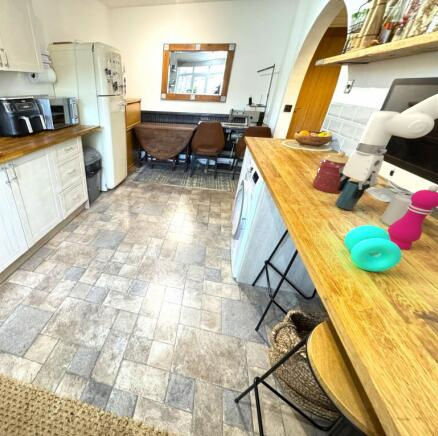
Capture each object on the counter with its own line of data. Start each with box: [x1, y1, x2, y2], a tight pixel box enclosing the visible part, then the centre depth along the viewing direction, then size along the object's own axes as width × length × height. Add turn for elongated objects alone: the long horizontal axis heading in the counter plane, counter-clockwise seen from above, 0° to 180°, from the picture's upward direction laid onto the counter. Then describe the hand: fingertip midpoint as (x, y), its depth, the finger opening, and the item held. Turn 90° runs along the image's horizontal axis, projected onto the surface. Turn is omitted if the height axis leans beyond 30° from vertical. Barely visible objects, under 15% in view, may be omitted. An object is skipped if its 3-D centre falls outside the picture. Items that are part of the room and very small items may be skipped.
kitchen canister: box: [311, 151, 350, 194], centre depth 111 cm, size 13×13×18 cm
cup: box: [334, 180, 367, 211], centre depth 95 cm, size 6×6×10 cm
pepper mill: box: [387, 185, 438, 251], centre depth 71 cm, size 7×7×20 cm
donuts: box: [343, 224, 403, 273], centre depth 66 cm, size 10×10×10 cm
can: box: [380, 190, 415, 228], centre depth 84 cm, size 8×8×12 cm
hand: (348, 193), depth 95 cm, fingers closed on cup, 6 cm apart
